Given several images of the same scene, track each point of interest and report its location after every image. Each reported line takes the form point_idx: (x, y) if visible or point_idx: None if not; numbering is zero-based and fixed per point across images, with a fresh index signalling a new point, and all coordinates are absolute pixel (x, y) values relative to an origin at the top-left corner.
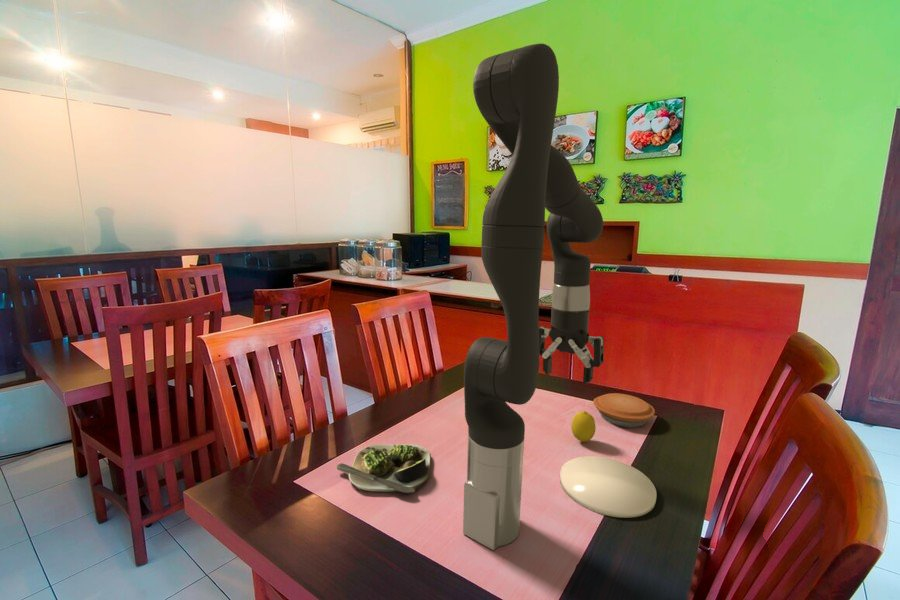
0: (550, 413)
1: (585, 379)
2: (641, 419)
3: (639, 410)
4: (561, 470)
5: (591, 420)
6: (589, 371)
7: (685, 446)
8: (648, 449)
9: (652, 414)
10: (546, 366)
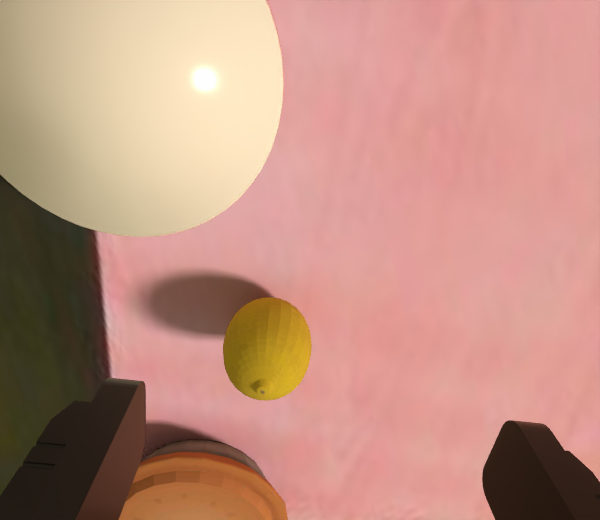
0: (405, 421)
1: (99, 413)
2: None
3: (136, 505)
4: (278, 60)
5: (231, 360)
6: (8, 517)
7: (11, 416)
8: (86, 359)
9: None
10: (578, 497)
